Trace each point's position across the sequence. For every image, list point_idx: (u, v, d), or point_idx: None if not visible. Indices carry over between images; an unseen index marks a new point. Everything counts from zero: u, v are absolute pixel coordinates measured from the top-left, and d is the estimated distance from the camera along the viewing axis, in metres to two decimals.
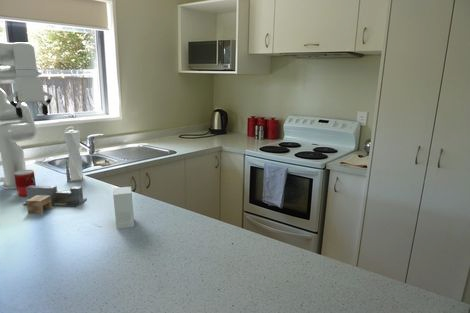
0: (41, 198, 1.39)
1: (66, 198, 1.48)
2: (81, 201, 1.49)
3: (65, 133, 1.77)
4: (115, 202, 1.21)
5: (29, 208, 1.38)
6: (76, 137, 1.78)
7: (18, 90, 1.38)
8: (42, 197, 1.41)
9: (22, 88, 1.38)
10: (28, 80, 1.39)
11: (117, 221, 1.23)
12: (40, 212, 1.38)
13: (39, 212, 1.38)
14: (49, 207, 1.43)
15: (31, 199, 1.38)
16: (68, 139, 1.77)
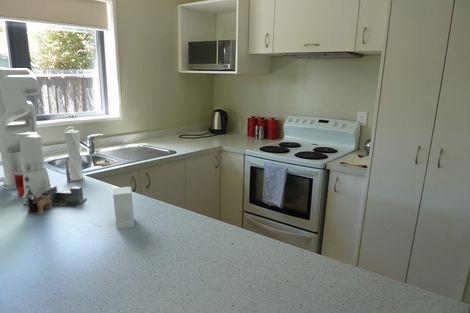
0: (41, 198, 1.39)
1: (66, 198, 1.48)
2: (81, 201, 1.49)
3: (65, 133, 1.77)
4: (115, 202, 1.21)
5: None
6: (76, 137, 1.78)
7: None
8: (42, 196, 1.41)
9: None
10: None
11: (117, 221, 1.23)
12: (40, 212, 1.38)
13: (39, 212, 1.38)
14: (49, 207, 1.43)
15: None
16: (68, 139, 1.77)
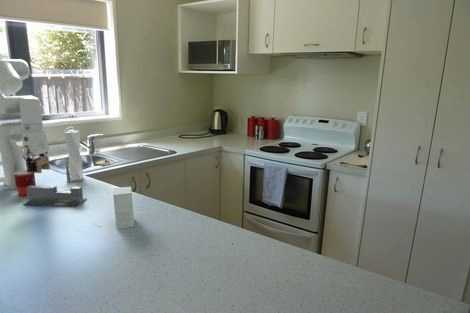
0: (39, 158, 1.46)
1: (66, 198, 1.48)
2: (81, 201, 1.49)
3: (65, 133, 1.77)
4: (115, 202, 1.21)
5: None
6: (76, 137, 1.78)
7: None
8: (40, 157, 1.47)
9: None
10: None
11: (117, 221, 1.23)
12: (38, 171, 1.44)
13: (37, 171, 1.44)
14: (47, 168, 1.49)
15: None
16: (68, 139, 1.77)
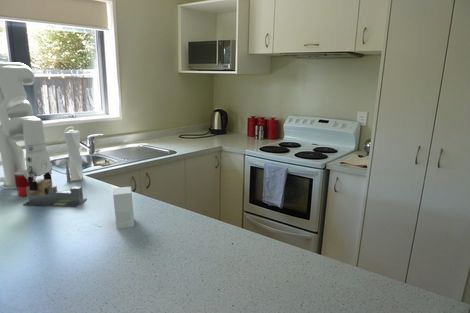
0: (43, 181, 1.48)
1: (66, 198, 1.48)
2: (81, 201, 1.49)
3: (65, 133, 1.77)
4: (115, 202, 1.21)
5: None
6: (76, 137, 1.78)
7: None
8: (44, 180, 1.50)
9: None
10: None
11: (117, 221, 1.23)
12: (42, 194, 1.47)
13: (41, 194, 1.47)
14: None
15: None
16: (68, 139, 1.77)
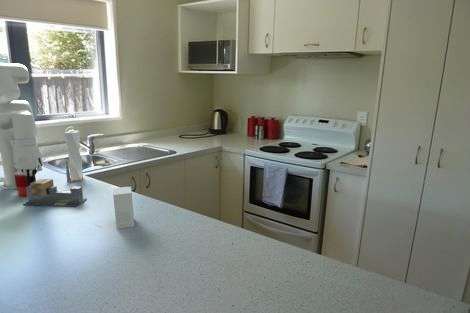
0: (44, 181, 1.48)
1: (66, 198, 1.48)
2: (81, 201, 1.49)
3: (65, 133, 1.77)
4: (115, 202, 1.21)
5: (33, 190, 1.47)
6: (76, 137, 1.78)
7: (40, 156, 1.48)
8: (45, 180, 1.50)
9: None
10: None
11: (117, 221, 1.23)
12: (43, 194, 1.47)
13: (42, 194, 1.47)
14: None
15: (35, 182, 1.47)
16: (68, 139, 1.77)
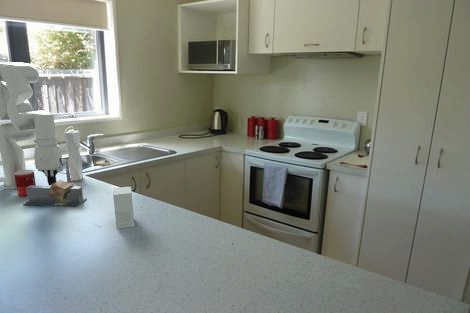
0: (65, 185, 1.48)
1: (66, 198, 1.48)
2: (81, 201, 1.49)
3: (65, 133, 1.77)
4: (115, 202, 1.21)
5: (51, 191, 1.46)
6: (76, 137, 1.78)
7: (61, 156, 1.47)
8: (65, 183, 1.49)
9: None
10: None
11: (117, 221, 1.23)
12: (60, 198, 1.46)
13: (60, 198, 1.46)
14: None
15: (56, 184, 1.46)
16: (68, 139, 1.77)
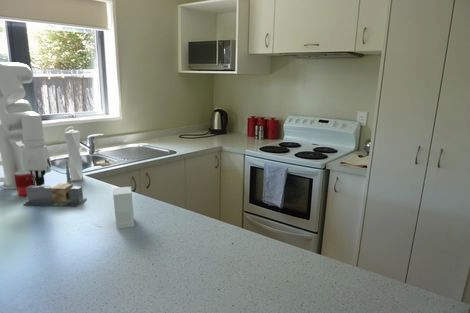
0: (64, 186, 1.48)
1: None
2: (81, 201, 1.49)
3: (65, 133, 1.77)
4: (115, 202, 1.21)
5: (53, 195, 1.46)
6: (76, 137, 1.78)
7: (49, 157, 1.48)
8: (65, 185, 1.50)
9: None
10: None
11: (117, 221, 1.23)
12: (64, 199, 1.46)
13: (63, 199, 1.46)
14: None
15: (55, 187, 1.47)
16: (68, 139, 1.77)
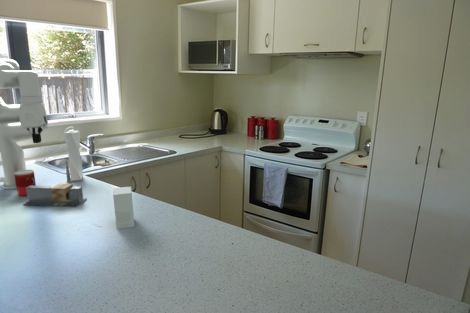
0: (64, 186, 1.48)
1: None
2: (81, 201, 1.49)
3: (65, 133, 1.77)
4: (115, 202, 1.21)
5: (53, 195, 1.46)
6: (76, 137, 1.78)
7: None
8: (65, 185, 1.50)
9: None
10: None
11: (117, 221, 1.23)
12: (64, 199, 1.46)
13: (63, 199, 1.46)
14: None
15: (55, 187, 1.47)
16: (68, 139, 1.77)
